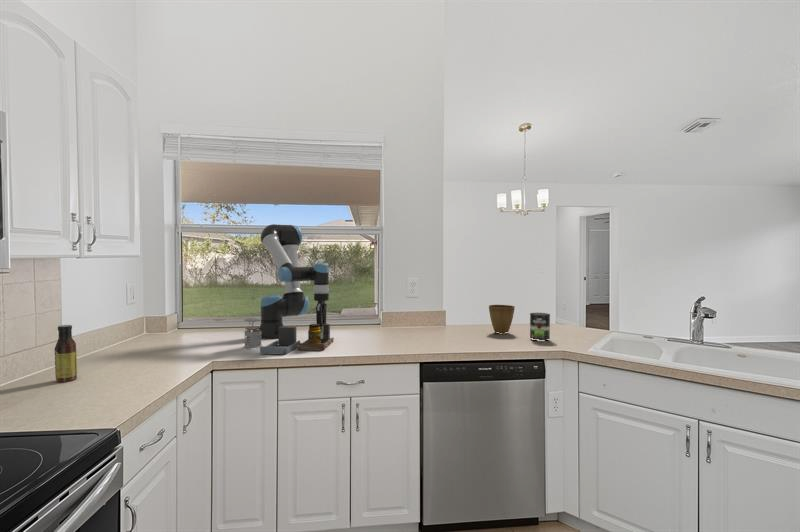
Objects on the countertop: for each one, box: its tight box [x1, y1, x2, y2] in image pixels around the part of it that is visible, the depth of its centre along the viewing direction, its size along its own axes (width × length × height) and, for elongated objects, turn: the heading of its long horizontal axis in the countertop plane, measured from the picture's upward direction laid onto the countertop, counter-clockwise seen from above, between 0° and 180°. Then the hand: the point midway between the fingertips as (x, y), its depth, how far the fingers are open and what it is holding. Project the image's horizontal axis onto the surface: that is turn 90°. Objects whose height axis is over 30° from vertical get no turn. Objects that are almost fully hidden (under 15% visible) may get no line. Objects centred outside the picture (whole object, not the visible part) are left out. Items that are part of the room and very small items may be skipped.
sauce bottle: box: [54, 324, 78, 383], centre depth 155 cm, size 7×6×20 cm
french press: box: [242, 296, 263, 350], centre depth 214 cm, size 10×12×25 cm
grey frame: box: [259, 325, 301, 355], centre depth 208 cm, size 22×12×9 cm, turn 176°
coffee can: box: [529, 312, 551, 340], centre depth 233 cm, size 10×10×14 cm
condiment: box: [305, 323, 322, 352], centre depth 209 cm, size 7×8×12 cm
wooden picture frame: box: [298, 323, 335, 351], centre depth 216 cm, size 22×12×9 cm, turn 176°
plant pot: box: [488, 304, 515, 333], centre depth 254 cm, size 15×15×16 cm
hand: (321, 337), depth 225 cm, fingers closed on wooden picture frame, 3 cm apart
